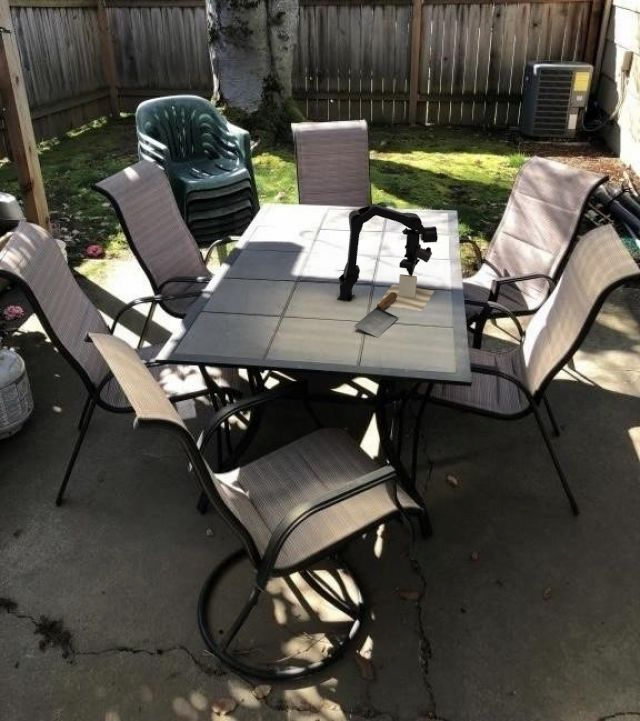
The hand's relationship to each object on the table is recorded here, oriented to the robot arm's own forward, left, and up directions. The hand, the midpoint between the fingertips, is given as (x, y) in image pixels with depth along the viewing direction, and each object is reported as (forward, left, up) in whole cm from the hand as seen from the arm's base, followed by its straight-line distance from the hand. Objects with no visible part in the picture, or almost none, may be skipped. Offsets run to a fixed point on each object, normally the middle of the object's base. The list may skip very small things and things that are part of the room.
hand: (410, 276), depth 295 cm
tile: (-5, 0, -8) cm, 9 cm away
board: (-6, 0, -9) cm, 11 cm away
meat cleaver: (-27, +3, -9) cm, 28 cm away
